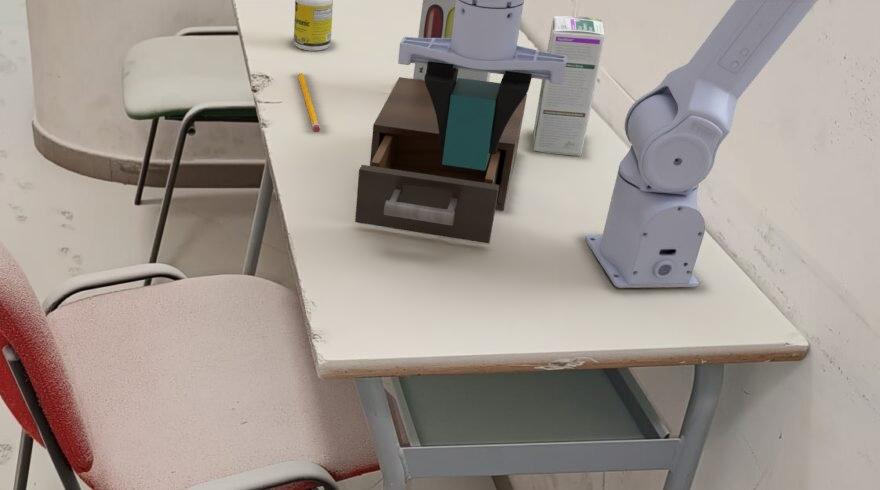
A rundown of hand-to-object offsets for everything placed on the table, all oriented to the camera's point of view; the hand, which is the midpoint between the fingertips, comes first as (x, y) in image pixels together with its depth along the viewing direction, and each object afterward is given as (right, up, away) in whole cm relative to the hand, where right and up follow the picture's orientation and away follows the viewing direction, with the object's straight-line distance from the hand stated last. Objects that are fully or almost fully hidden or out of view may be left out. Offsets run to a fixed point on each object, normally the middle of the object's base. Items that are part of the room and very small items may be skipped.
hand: (469, 146), depth 94 cm
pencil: (-14, +12, +35) cm, 40 cm away
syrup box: (+15, +5, +26) cm, 31 cm away
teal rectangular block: (0, -1, +1) cm, 1 cm away
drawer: (-2, -5, +9) cm, 11 cm away
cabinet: (+1, +1, +19) cm, 19 cm away
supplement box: (+4, +13, +37) cm, 40 cm away
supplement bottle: (-13, +25, +53) cm, 60 cm away
